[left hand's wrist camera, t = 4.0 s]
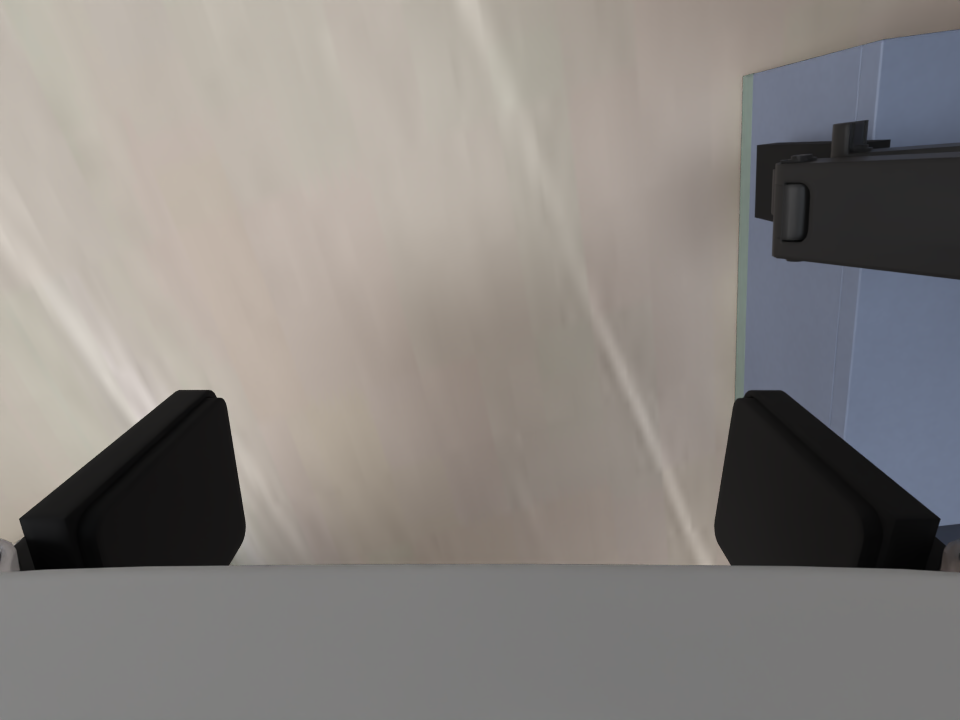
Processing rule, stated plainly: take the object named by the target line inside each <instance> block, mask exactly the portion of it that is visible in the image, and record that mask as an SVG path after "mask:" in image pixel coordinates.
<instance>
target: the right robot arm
mask: <svg viewBox="0 0 960 720" xmlns="http://www.w3.org/2000/svg"><path fill="white" fill-rule="evenodd" d="M868 122H869V120H862V121H854V122H846V123H838V124H833V130H832V141H816V142H780V143H770V144H762V145H757V158H756V190H755V218H759V219H763V220H767V221H771V222H773V236H772V256H773V257H775V258H777V259H786V261H789V262H802V261H805V262H814V263H822V264H831V265H839V266H847V267H856V268H864V269H873V270H881V271H890V272H898V273H906V274H915V275H923V276H932V277H940V278H948V279H957V280H960V142H958V143H945V144H931V145H918V146H904V147H891V148H890V142H891V139H889V140H867V133H868Z"/></svg>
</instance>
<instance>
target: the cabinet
mask: <svg viewBox="0 0 960 720" xmlns="http://www.w3.org/2000/svg"><path fill="white" fill-rule="evenodd" d="M862 120H869V122H868V133H867V140H889V139H891V142H890V148H891V147H904V146H918V145H931V144H945V143H958V142H960V29H957V30H950V31H942V32H935V33H927V34H920V35H912V36H905V37H898V38H890V39H883V40H879V41H875V42H872V43H868V44H865V45H860V46H856V47H853V48H849V49H845V50H841V51H838V52H834V53H830V54H826V55H823V56H819V57H815V58H811V59H808V60H804V61H800V62H796V63H792V64H789V65H785V66H781V67H777V68H774V69H770V70H766V71H762V72H759V73H753V74H749V75H746V76H743V100H742V140H741V180H740V220H739V260H738V300H737V340H736V380H735V401H736V399H738V398H743V397H744V395H745V393H746V392H747V391H749V390H782V391H784V392H785V393H787V394H788V395H789V396H790V397H792V398H793V399H794V400H795V401H796V402H798V403H799V404H800V405H801V406H803V407H804V408H805V409H806V410H808V411H809V412H810V413H811V414H812V415H814V416H815V417H816V418H817V419H819V420H820V421H821V422H822V423H824V424H825V425H826V426H827V427H828V428H830V429H831V430H832V431H833V432H835V433H836V434H837V435H838V436H840V437H841V438H842V439H843V440H844V441H846V442H847V443H848V444H849V445H851V446H852V447H853V448H854V449H856V450H857V451H858V452H859V453H860V454H862V455H863V456H864V457H865V458H867V459H868V460H869V461H870V462H872V463H873V464H874V465H875V466H876V467H878V468H879V469H880V470H881V471H883V472H884V473H885V474H886V475H888V476H889V477H890V478H891V479H892V480H894V481H895V482H896V483H897V484H899V485H900V486H901V487H902V488H903V489H905V490H906V491H907V492H908V493H910V494H911V495H912V496H913V497H915V498H916V499H917V500H918V501H919V502H921V503H922V504H923V505H924V506H926V507H927V508H928V509H929V510H931V511H932V512H933V513H934V514H935V515H937V516H938V517H939V518H940V519H941V520H940V523H939V526H944V525H954V524H960V280H957V279H948V278H940V277H932V276H923V275H915V274H906V273H898V272H890V271H881V270H873V269H864V268H856V267H847V266H839V265H831V264H822V263H814V262H805V261H802V262H789V261H786V259H777V258H775V257H773V256H772V236H773V222H771V221H767V220H763V219H759V218H755V190H756V158H757V145H762V144H770V143H780V142H816V141H832V130H833V124H838V123H846V122H854V121H862Z"/></svg>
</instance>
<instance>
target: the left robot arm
mask: <svg viewBox="0 0 960 720" xmlns="http://www.w3.org/2000/svg"><path fill="white" fill-rule="evenodd" d="M19 520H20V523H21V526H22V530H23V533H24V536H25V537H23V538H22V539H21V540H19V541H18V542H17V543H16V544H15V545H14V546H13V544H12V543H11V542H9V541H6V540H3V539H0V720H960V539H957V540H954V541H951V542H949V543H948V544H947V546H946V545H945V544H944V543H942V542H941V541H940V540H939V539H938V538H937V537H935V536H936V533H937V530H938V526H939V523H940V520H941V519H940V518H939V517H938V516H937V515H935V514H934V513H933V512H932V511H931V510H929V509H928V508H927V507H926V506H924V505H923V504H922V503H921V502H919V501H918V500H917V499H916V498H915V497H913V496H912V495H911V494H910V493H908V492H907V491H906V490H905V489H903V488H902V487H901V486H900V485H899V484H897V483H896V482H895V481H894V480H892V479H891V478H890V477H889V476H888V475H886V474H885V473H884V472H883V471H881V470H880V469H879V468H878V467H876V466H875V465H874V464H873V463H872V462H870V461H869V460H868V459H867V458H865V457H864V456H863V455H862V454H860V453H859V452H858V451H857V450H856V449H854V448H853V447H852V446H851V445H849V444H848V443H847V442H846V441H844V440H843V439H842V438H841V437H840V436H838V435H837V434H836V433H835V432H833V431H832V430H831V429H830V428H828V427H827V426H826V425H825V424H824V423H822V422H821V421H820V420H819V419H817V418H816V417H815V416H814V415H812V414H811V413H810V412H809V411H808V410H806V409H805V408H804V407H803V406H801V405H800V404H799V403H798V402H796V401H795V400H794V399H793V398H792V397H790V396H789V395H788V394H787V393H785V392H784V391H782V390H749V391H747V392H746V393H745V395H744V397H743V398H738V399H736V401H735V403H734V406H733V411H732V417H731V423H730V429H729V436H728V442H727V448H726V454H725V460H724V467H723V473H722V479H721V485H720V491H719V498H718V504H717V510H716V516H715V524H714V529H715V536H716V540H717V542H718V544H719V546H720V548H721V549H722V551H723V553H724V554H725V556H726V558H727V559H728V561H729V563H730V564H731V566H720V565H603V564H336V565H243V566H229V564H230V563H231V561H232V559H233V558H234V556H235V554H236V553H237V551H238V549H239V548H240V546H241V544H242V542H243V540H244V536H245V529H246V524H245V516H244V510H243V504H242V498H241V491H240V485H239V479H238V473H237V467H236V460H235V454H234V448H233V442H232V436H231V429H230V423H229V417H228V411H227V406H226V403H225V401H224V399H222V398H217V397H216V395H215V393H214V392H213V391H211V390H178V391H176V392H175V393H173V394H172V395H171V396H170V397H168V398H167V399H166V400H165V401H164V402H162V403H161V404H160V405H159V406H157V407H156V408H155V409H154V410H152V411H151V412H150V413H149V414H148V415H146V416H145V417H144V418H143V419H141V420H140V421H139V422H138V423H136V424H135V425H134V426H133V427H132V428H130V429H129V430H128V431H127V432H125V433H124V434H123V435H122V436H120V437H119V438H118V439H117V440H116V441H114V442H113V443H112V444H111V445H109V446H108V447H107V448H106V449H104V450H103V451H102V452H101V453H100V454H98V455H97V456H96V457H95V458H93V459H92V460H91V461H90V462H88V463H87V464H86V465H85V466H84V467H82V468H81V469H80V470H79V471H77V472H76V473H75V474H74V475H72V476H71V477H70V478H69V479H68V480H66V481H65V482H64V483H63V484H61V485H60V486H59V487H58V488H57V489H55V490H54V491H53V492H52V493H50V494H49V495H48V496H47V497H45V498H44V499H43V500H42V501H41V502H39V503H38V504H37V505H36V506H34V507H33V508H32V509H31V510H29V511H28V512H27V513H26V514H25V515H23V516H22V517H21V518H20V519H19Z"/></svg>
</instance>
